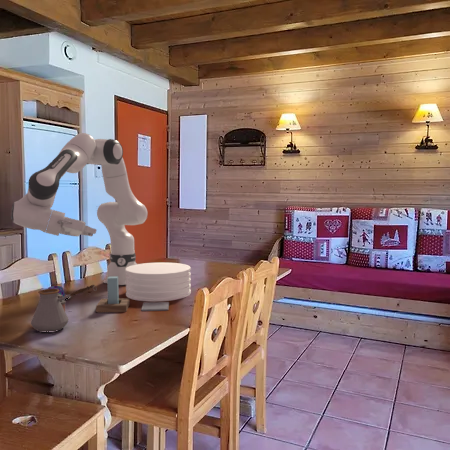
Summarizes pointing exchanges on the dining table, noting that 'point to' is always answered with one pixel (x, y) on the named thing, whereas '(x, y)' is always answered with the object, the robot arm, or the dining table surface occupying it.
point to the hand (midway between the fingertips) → (94, 233)
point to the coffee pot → (52, 310)
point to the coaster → (155, 306)
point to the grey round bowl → (59, 290)
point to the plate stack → (158, 281)
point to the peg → (113, 290)
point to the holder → (113, 305)
